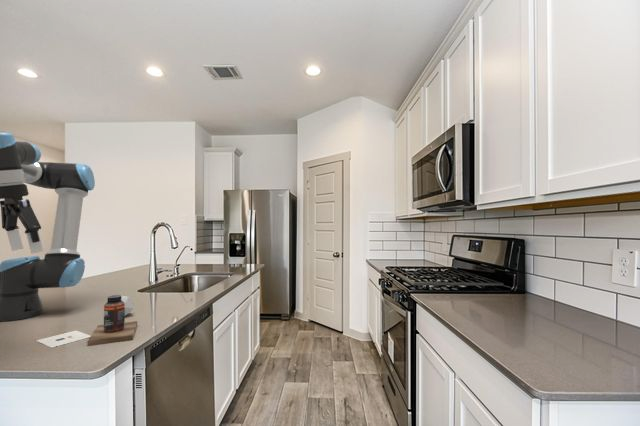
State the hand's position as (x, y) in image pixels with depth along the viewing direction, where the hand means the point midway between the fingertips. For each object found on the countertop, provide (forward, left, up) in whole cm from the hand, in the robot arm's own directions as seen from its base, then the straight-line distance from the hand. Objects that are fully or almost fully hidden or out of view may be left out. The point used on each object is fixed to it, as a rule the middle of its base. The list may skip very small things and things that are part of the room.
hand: (27, 251), depth 103 cm
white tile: (+3, +11, -28) cm, 30 cm away
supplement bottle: (+4, +25, -27) cm, 37 cm away
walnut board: (+5, +25, -28) cm, 38 cm away
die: (-18, +24, -29) cm, 42 cm away
